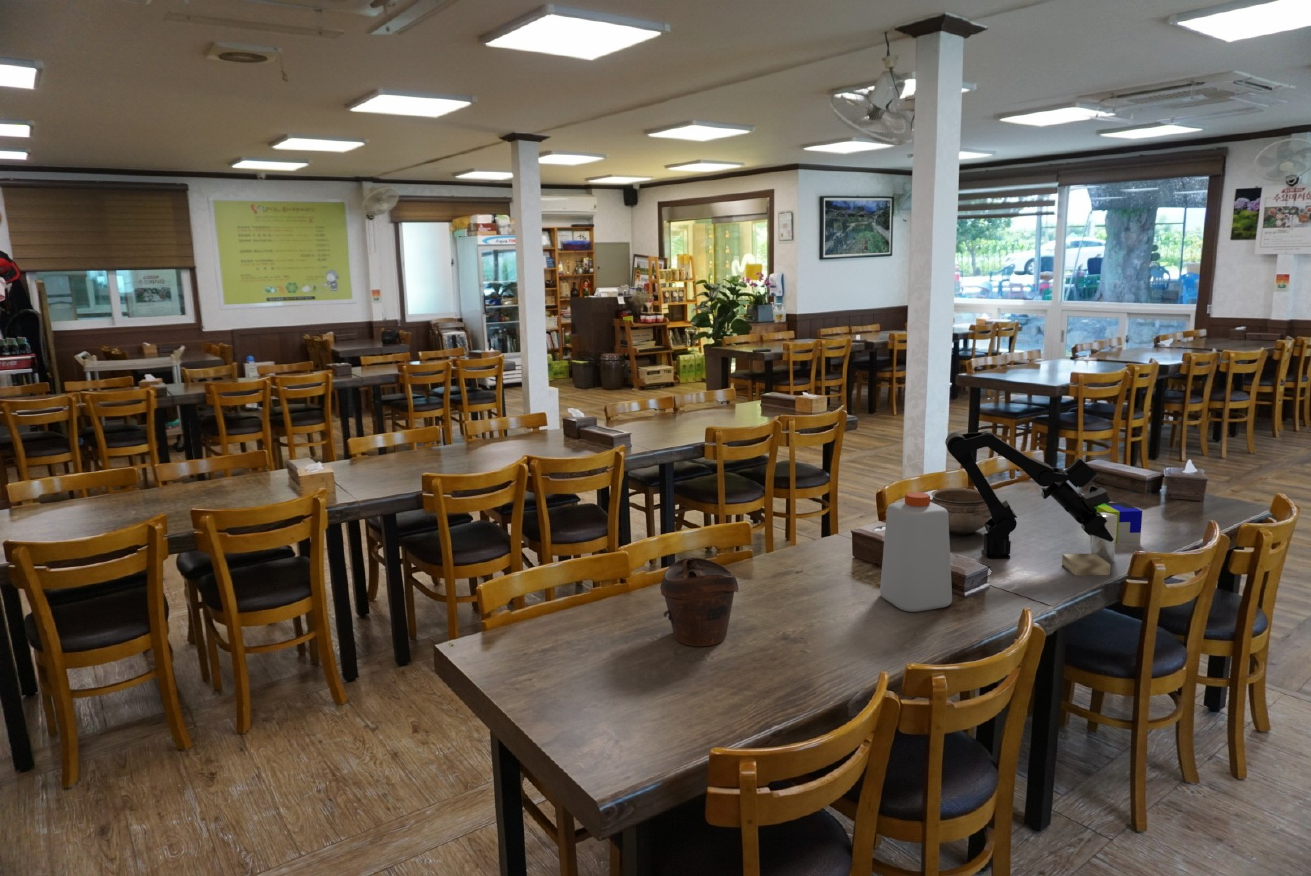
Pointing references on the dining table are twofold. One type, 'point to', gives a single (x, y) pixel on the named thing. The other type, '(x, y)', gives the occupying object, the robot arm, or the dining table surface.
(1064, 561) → the birch block
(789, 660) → the dining table surface
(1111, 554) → the metal cylinder
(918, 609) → the plastic bottle
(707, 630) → the brown lidded bucket
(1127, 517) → the puzzle toy
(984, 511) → the cooking pot
